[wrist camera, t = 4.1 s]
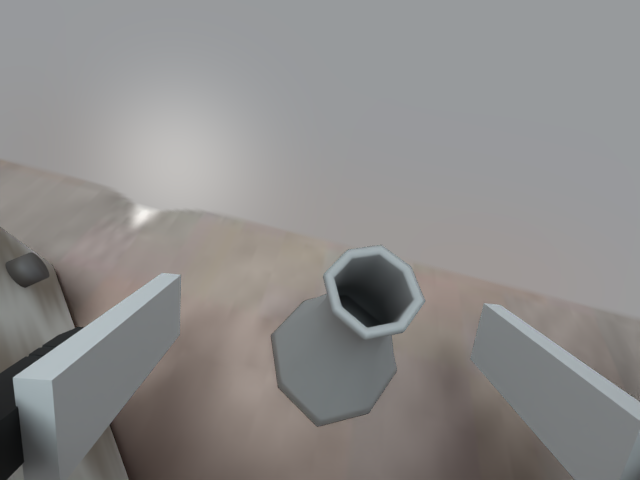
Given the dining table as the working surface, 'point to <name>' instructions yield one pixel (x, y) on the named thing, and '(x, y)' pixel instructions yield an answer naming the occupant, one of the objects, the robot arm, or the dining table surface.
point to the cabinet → (42, 337)
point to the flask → (346, 336)
